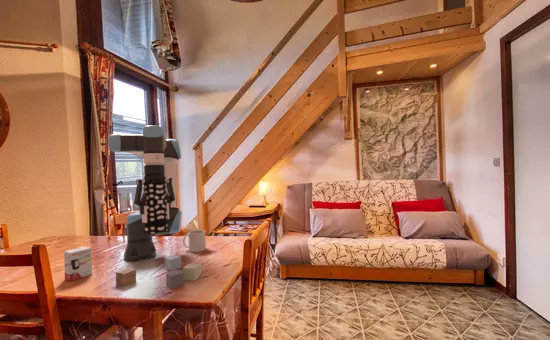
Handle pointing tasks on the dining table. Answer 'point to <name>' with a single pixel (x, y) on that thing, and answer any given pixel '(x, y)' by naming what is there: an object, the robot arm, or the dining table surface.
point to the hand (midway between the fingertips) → (156, 220)
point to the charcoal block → (175, 278)
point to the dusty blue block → (173, 262)
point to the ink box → (78, 263)
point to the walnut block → (125, 277)
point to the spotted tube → (156, 207)
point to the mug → (196, 241)
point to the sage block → (192, 271)
